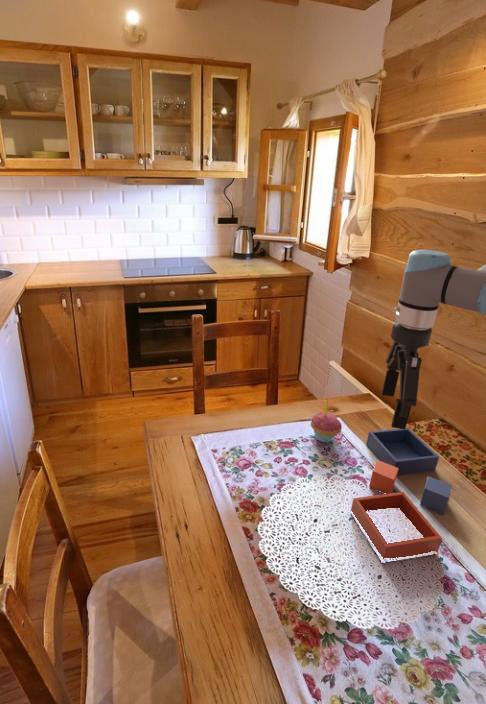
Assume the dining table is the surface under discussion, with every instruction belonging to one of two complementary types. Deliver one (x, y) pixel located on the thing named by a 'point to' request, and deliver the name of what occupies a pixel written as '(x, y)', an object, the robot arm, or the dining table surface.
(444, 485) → the slate block
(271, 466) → the dining table surface
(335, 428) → the cupcake
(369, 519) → the terracotta bin
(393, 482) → the terracotta block
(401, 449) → the slate bin
